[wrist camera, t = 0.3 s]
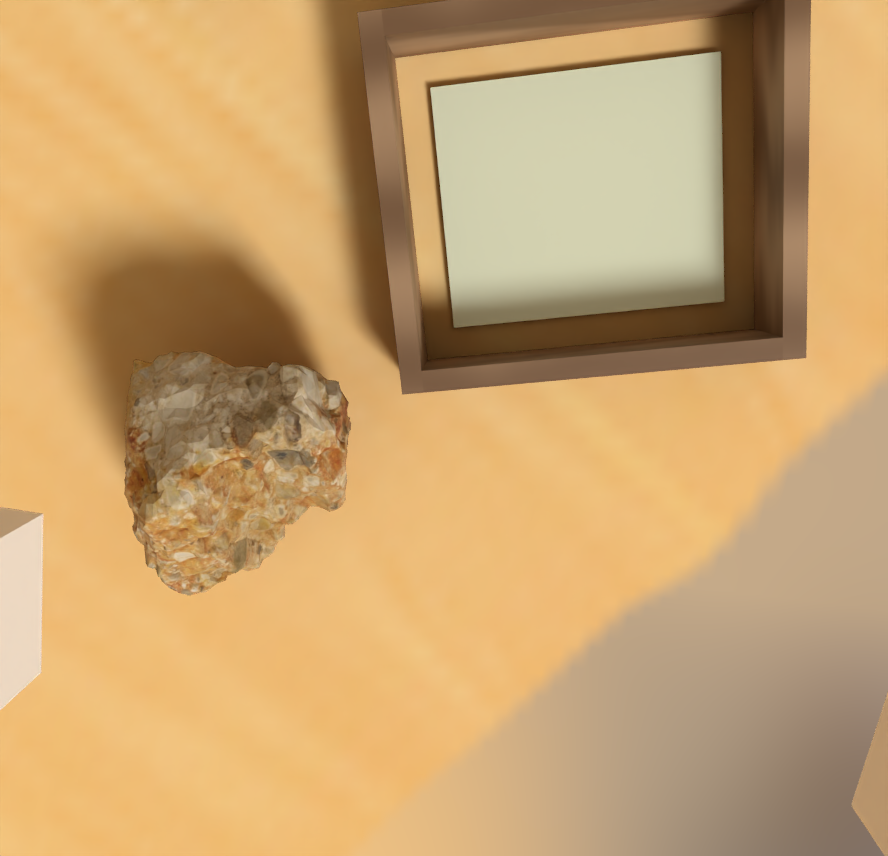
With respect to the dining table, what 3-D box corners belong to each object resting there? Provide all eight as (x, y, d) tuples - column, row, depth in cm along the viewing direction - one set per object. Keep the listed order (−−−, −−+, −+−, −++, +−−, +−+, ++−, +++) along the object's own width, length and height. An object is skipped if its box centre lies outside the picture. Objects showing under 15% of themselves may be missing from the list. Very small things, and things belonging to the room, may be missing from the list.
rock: (174, 324, 37) (62, 350, 27) (374, 351, 37) (333, 386, 27) (167, 542, 40) (63, 636, 30) (352, 568, 39) (308, 671, 30)
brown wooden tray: (370, 37, 33) (357, 12, 30) (776, -17, 32) (811, -49, 28) (410, 381, 37) (402, 394, 33) (775, 347, 35) (806, 357, 32)
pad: (430, 89, 33) (430, 87, 33) (718, 53, 32) (721, 51, 32) (454, 327, 36) (454, 327, 36) (722, 300, 35) (724, 301, 35)
